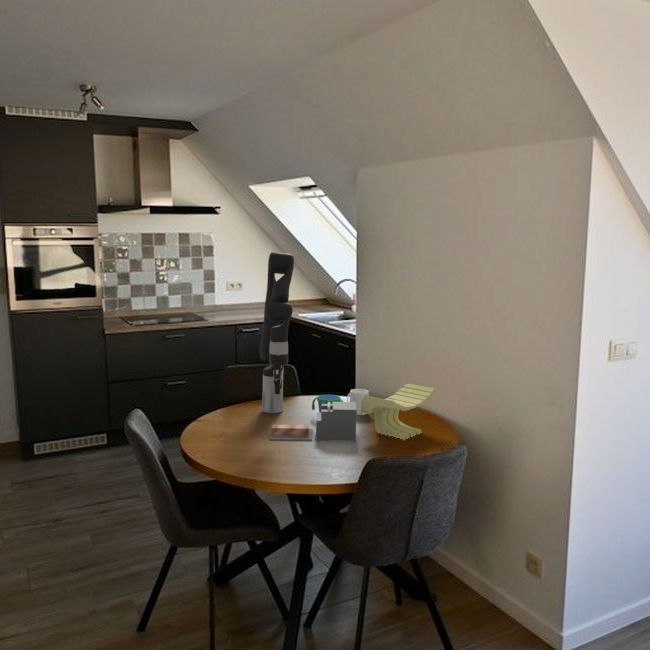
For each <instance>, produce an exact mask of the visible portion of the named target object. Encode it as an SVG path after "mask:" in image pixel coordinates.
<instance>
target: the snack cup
mask: <svg viewBox="0 0 650 650" xmlns="http://www.w3.org/2000/svg"><path fill="white" fill-rule="evenodd" d="M316 401H317V405H318V413H321V410H322V404H327V403H328V402H330V404H332V403H333V402H345V401H344V400H343V399H342V397H341V396H338V395H336V394H320V395H318V396H317V397H315V398H314V399H313V400H312V402H311V409H312V411H315V409H316V406H315V402H316Z"/></svg>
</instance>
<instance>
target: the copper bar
mask: <svg viewBox="0 0 650 650" xmlns="http://www.w3.org/2000/svg"><path fill="white" fill-rule="evenodd" d="M309 429H310V424H275V423H274V424H272V426H271V432H272V435H293V436H309Z"/></svg>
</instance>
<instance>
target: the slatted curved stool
mask: <svg viewBox="0 0 650 650" xmlns="http://www.w3.org/2000/svg"><path fill="white" fill-rule="evenodd" d="M435 392H436V391H435V388H433V387H429V386H428V387H427V386H423V385H419V384H413V383H407V384H404V385H403V386H402V387H401V388H400V389H398V391H396V392H395V393H394V394H393V395H390V396H388V397H386V398H380V397H376V396H373V395H369V396H364V397H363V399H362V401H361V412H363V413H367V414H366V415H370V414H372V413H373V417H374V426H375V431H376V432H377V433H378V434H379V433H381V434H380V435H382V434H385V435H384V436H386V435H389V436H388V437H390V436H393V437H396V438H395V439H397V438H400V439H399V440H401V439H403V440H402V441H406V440H405V439H407V440H409V439H411V438H410V437H412V438H414V437H416V436H417V435H416V434H419V435H421V434H420V433H422V434H423V432H422V429H421V428H416V427H413V426H410V425H407V424H405V423H403V422H402V421H401V420H400V419H399V413H400V411H402V412H403V411H404V412H406V411H409V410H413V409H415V408H417V407H418V408H419V407H421V406H424V403H427V402H428V400H429V399H431V397H433V396H435ZM415 435H416V436H415ZM413 436H414V437H413ZM393 437H392V438H393ZM408 438H409V439H408Z"/></svg>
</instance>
